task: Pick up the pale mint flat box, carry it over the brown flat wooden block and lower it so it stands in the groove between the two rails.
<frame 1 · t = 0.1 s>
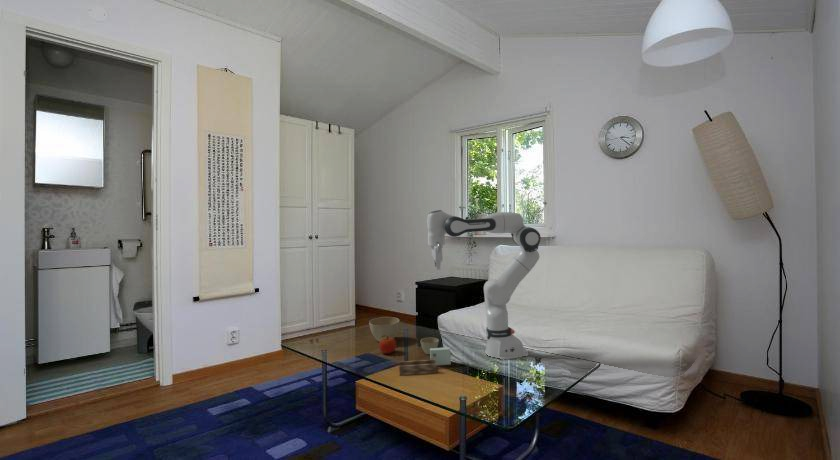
hand: (437, 268, 231), 48 cm above the table, tool pointing down, fingers open, 8 cm apart
flower pot: (385, 341, 267), on the table
brown flat wooden block: (417, 370, 218), on the table
fruit: (388, 352, 246), on the table
pale mint flat box: (440, 364, 225), on the table
bowl: (430, 353, 242), on the table
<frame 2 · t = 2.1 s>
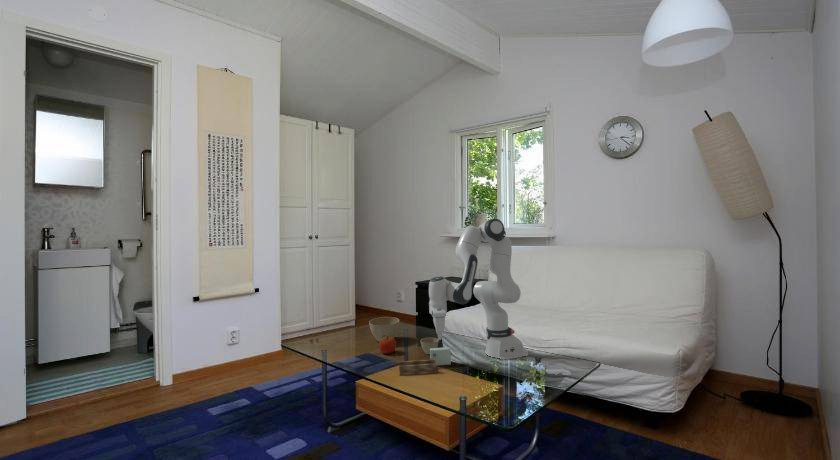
hand: (438, 336, 224), 14 cm above the table, tool pointing down, fingers open, 8 cm apart
nothing on the table moved.
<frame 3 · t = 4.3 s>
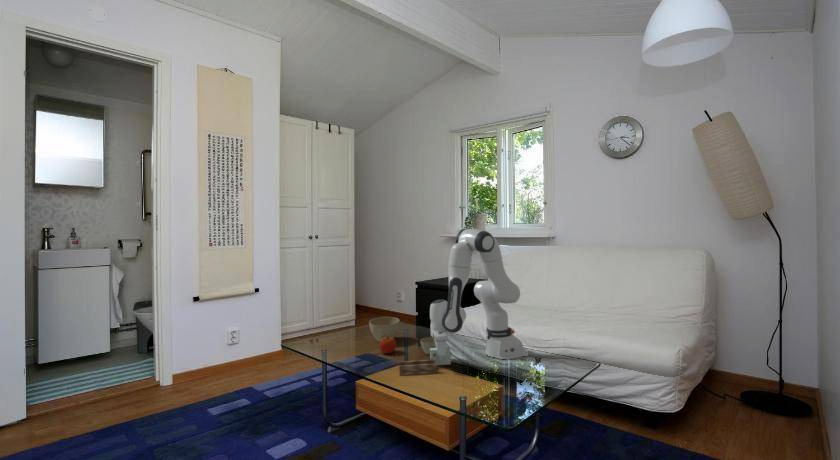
hand: (440, 358, 225), 3 cm above the table, tool pointing down, fingers closed on pale mint flat box, 3 cm apart
pale mint flat box: (440, 363, 225), on the table, touching gripper
everything else where it was.
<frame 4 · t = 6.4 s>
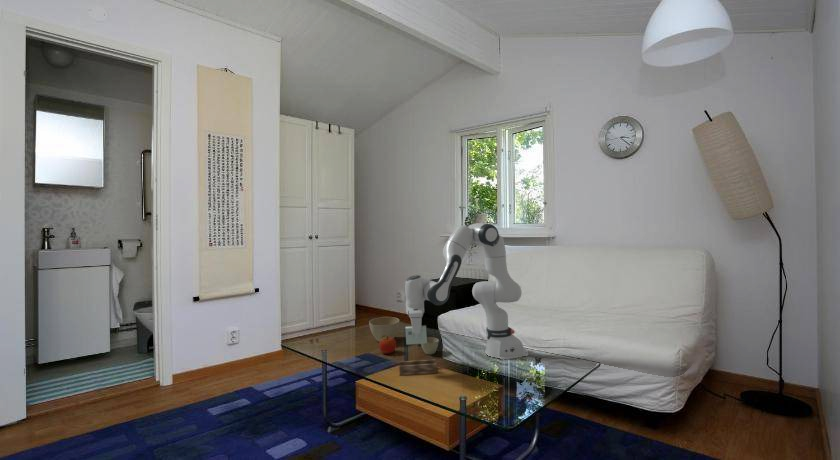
hand: (416, 337, 217), 17 cm above the table, tool pointing down, fingers closed on pale mint flat box, 3 cm apart
pale mint flat box: (416, 342, 217), point 14 cm above the table, touching gripper
everything else where it was.
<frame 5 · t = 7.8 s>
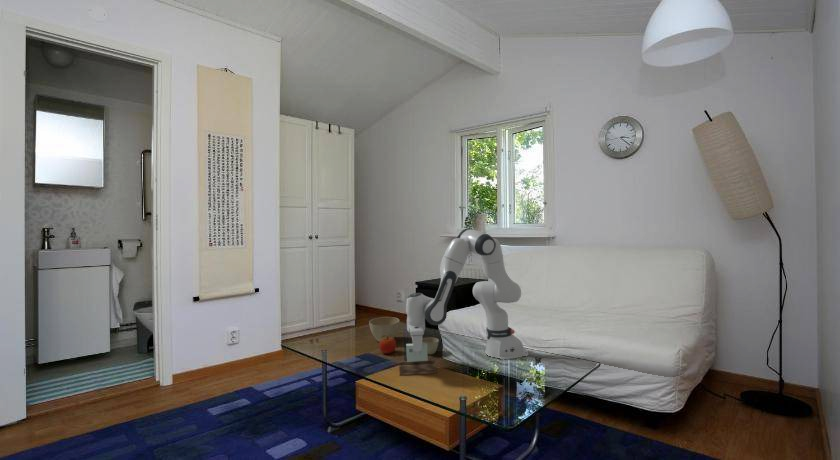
hand: (417, 354, 217), 8 cm above the table, tool pointing down, fingers closed on pale mint flat box, 3 cm apart
pale mint flat box: (417, 360, 217), point 5 cm above the table, touching gripper
everything else where it was.
when the fingers open (6 cm above the table, at t = 9.1 s): pale mint flat box drops 1 cm, resting on brown flat wooden block.
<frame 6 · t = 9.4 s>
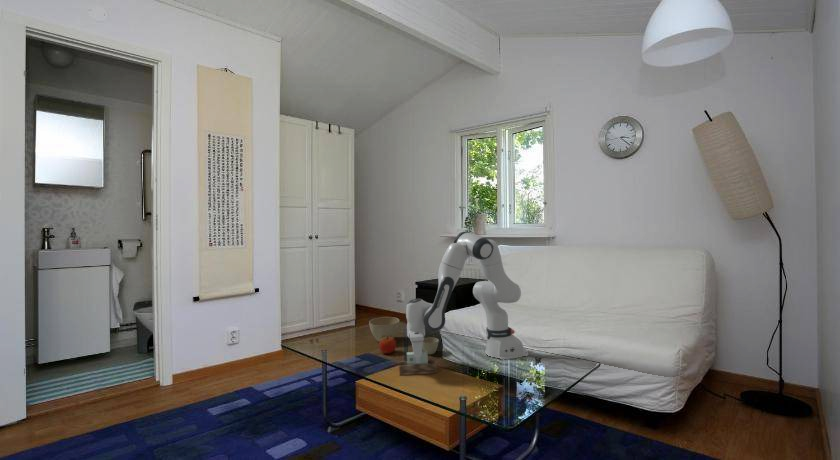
hand: (417, 359, 217), 6 cm above the table, tool pointing down, fingers open, 6 cm apart
pale mint flat box: (417, 368, 218), point 1 cm above the table, touching brown flat wooden block
everything else where it was.
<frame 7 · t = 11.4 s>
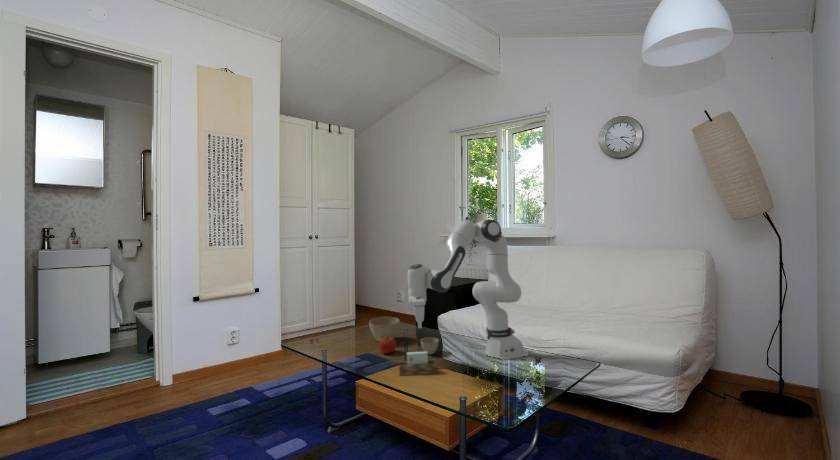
hand: (419, 325, 219), 22 cm above the table, tool pointing down, fingers open, 8 cm apart
nothing on the table moved.
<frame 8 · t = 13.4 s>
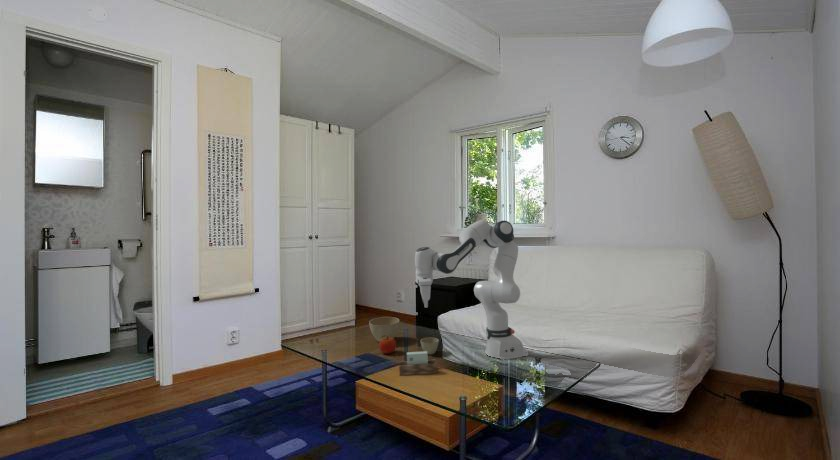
hand: (425, 305, 230), 29 cm above the table, tool pointing down, fingers open, 8 cm apart
nothing on the table moved.
at the end: pale mint flat box inside the target area on the brown flat wooden block (0.1 cm from its centre), point 1.0 cm above the brown flat wooden block's base; pale mint flat box tilted 0°; the gripper is holding nothing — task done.
